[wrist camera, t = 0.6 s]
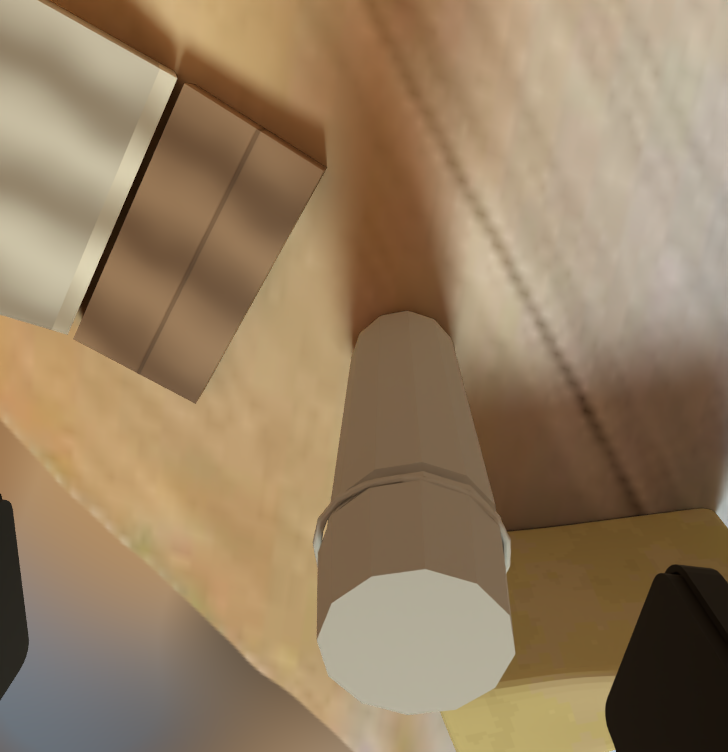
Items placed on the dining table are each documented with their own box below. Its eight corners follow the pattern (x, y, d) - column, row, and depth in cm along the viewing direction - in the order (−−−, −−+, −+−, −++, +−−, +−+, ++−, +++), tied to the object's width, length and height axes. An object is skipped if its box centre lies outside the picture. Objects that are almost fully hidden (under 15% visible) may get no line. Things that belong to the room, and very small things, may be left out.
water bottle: (385, 282, 41) (382, 514, 18) (480, 344, 42) (588, 630, 20) (313, 387, 44) (234, 694, 21) (404, 440, 46) (420, 781, 23)
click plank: (-19, -38, 31) (-26, -35, 29) (174, 71, 36) (177, 78, 35) (-106, 265, 37) (-115, 280, 36) (69, 319, 43) (67, 334, 41)
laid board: (194, 84, 36) (184, 83, 34) (326, 167, 38) (323, 171, 36) (86, 328, 43) (72, 339, 41) (203, 391, 45) (195, 403, 43)
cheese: (705, 460, 46) (841, 616, 32) (719, 560, 49) (846, 738, 36) (417, 531, 49) (429, 698, 36) (450, 619, 53) (471, 801, 39)
